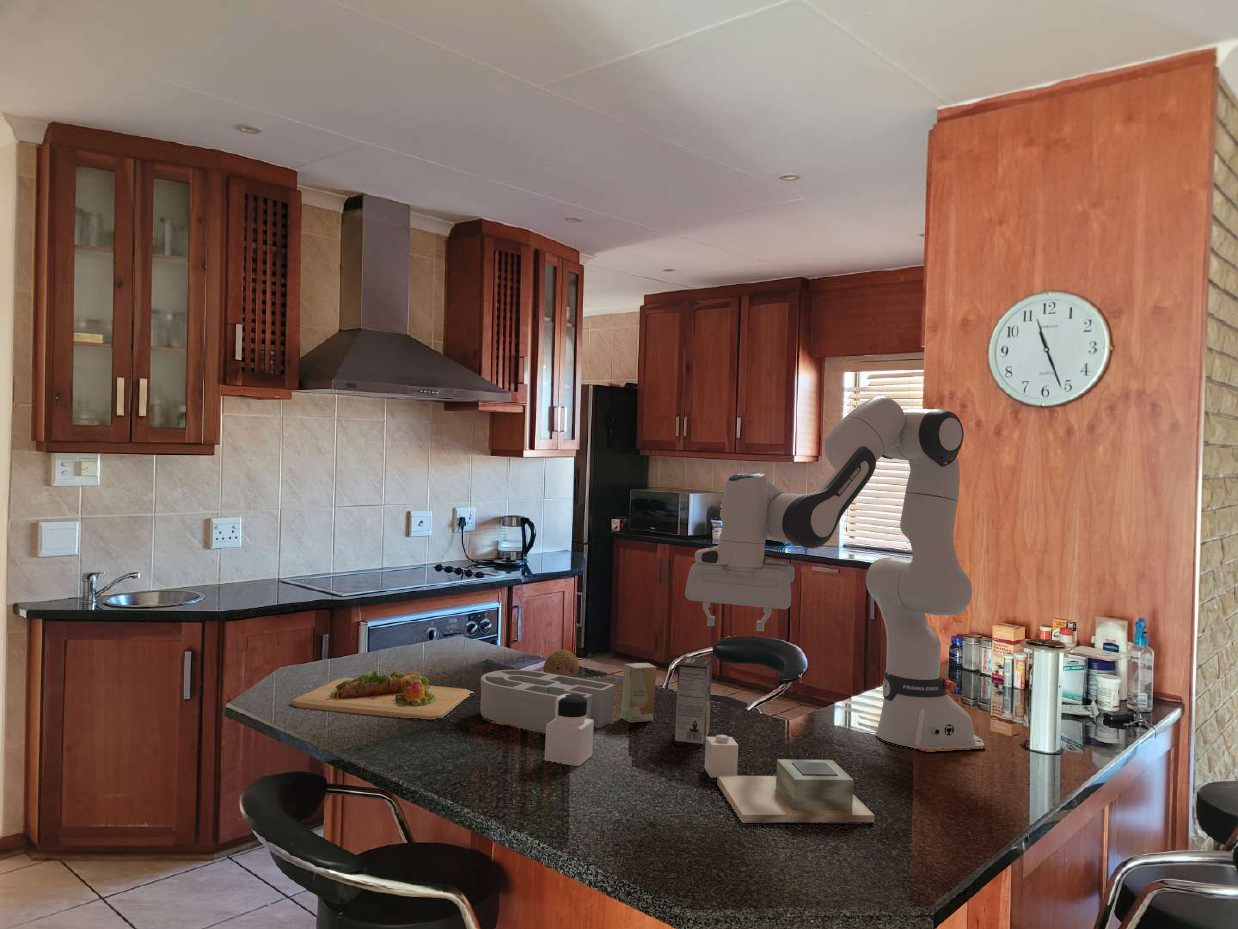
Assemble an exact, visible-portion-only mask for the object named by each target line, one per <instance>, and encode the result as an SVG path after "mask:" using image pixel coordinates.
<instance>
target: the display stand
mask: <svg viewBox="0 0 1238 929" xmlns="http://www.w3.org/2000/svg"><path fill="white" fill-rule="evenodd" d="M716 778H717V780H716V782H717V783H716V784H717V786H718V787H719V789H720V791H721V792H722V794H723V795H724V797H725V798H726V801H727V802H728V803H729V805H730V804H731V805H730V806H732V807H731V809H732V810H733V809H734V810H733V811H734V813H735V812H736V813H735V815H736V814H737V815H736V816H737V817H739V818H738V819H739V821H740V820H741V821H740V823H741V822H742V823H760V822H874V823H875V814H874V813H873V812H872V811H871V810H870V809H869V808H868V807H867V805H865V804H864V803H863V802H862V801H861V800H859V798H858V797H857V796H856V795H855V794H854V784H855V782H854V781H855V780H854V779H853V778H852V777H851V776H850V774H848V773H847V772H846V771H845V770H844V769H842V768H841V766H839V765H838V764H837V762H835V761H834V760H833V759H787V758H785V759H783V758H782V759H780V758H778V759H776V775H737V776H718V777H716ZM742 823H741V824H742Z"/></svg>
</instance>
